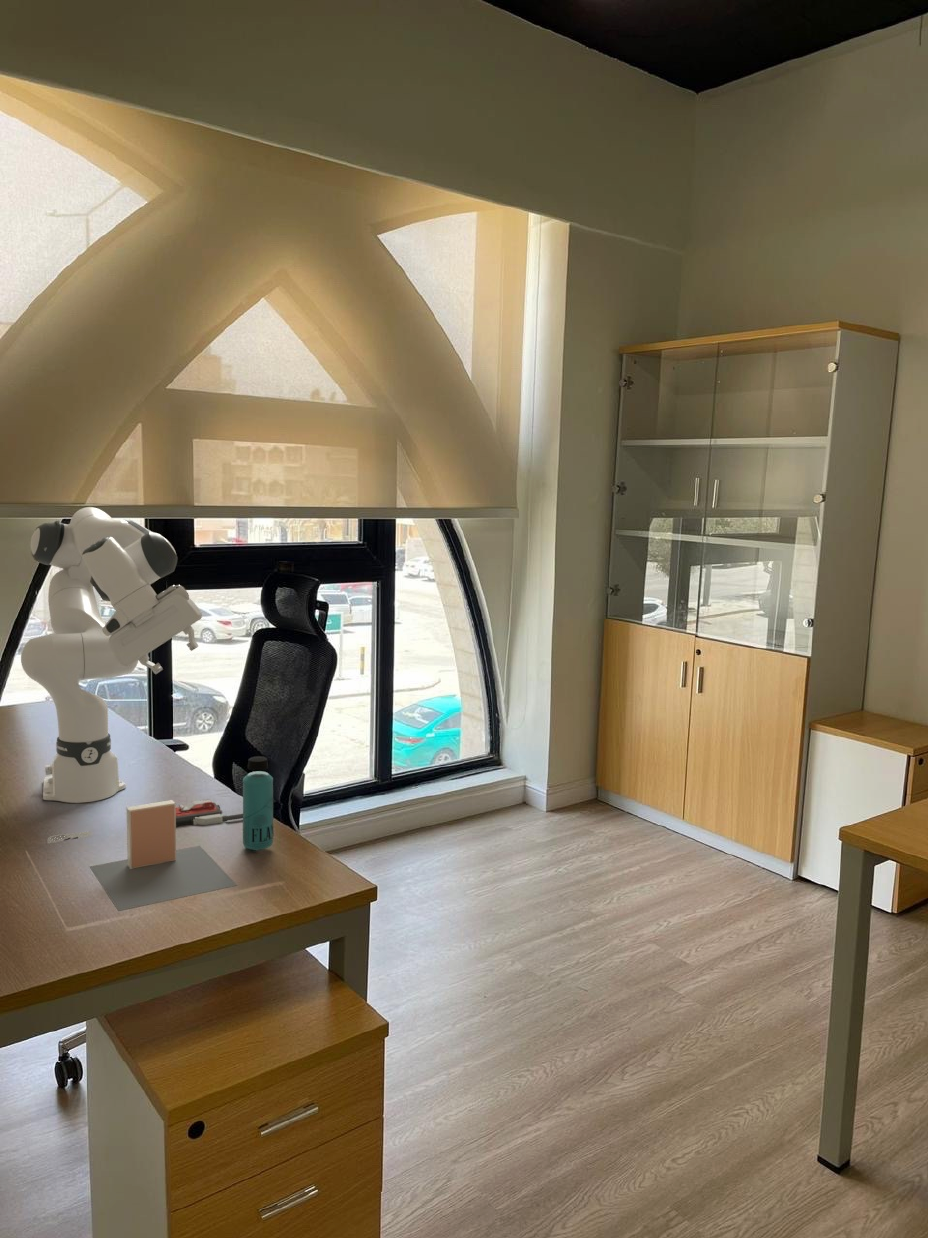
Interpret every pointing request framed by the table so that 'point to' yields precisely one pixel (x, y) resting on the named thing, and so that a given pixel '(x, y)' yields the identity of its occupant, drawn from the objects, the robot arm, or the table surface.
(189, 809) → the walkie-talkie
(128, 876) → the mat
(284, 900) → the table surface
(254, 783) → the beverage bottle
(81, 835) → the handheld gaming device
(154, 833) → the block
